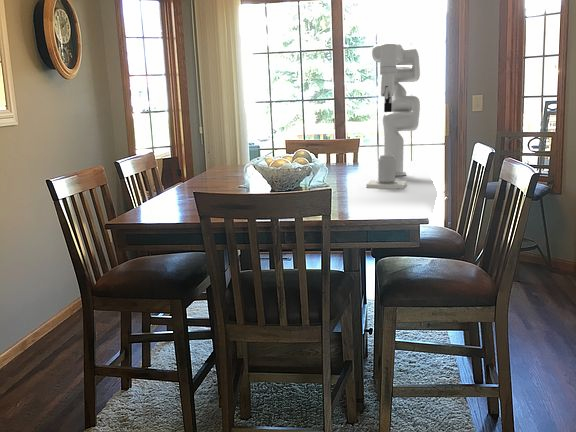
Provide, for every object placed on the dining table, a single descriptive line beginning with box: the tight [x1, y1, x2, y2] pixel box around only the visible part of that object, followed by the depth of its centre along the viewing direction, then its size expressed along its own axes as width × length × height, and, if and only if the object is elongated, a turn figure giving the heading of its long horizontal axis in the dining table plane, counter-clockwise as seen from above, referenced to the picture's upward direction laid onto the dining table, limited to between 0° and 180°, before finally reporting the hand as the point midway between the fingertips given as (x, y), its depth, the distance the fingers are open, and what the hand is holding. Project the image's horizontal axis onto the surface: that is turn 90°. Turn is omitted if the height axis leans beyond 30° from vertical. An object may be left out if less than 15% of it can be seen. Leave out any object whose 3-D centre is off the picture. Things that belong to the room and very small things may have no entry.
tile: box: [365, 180, 407, 189], centre depth 272 cm, size 13×16×2 cm
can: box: [377, 154, 396, 183], centre depth 270 cm, size 8×8×12 cm
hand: (387, 112), depth 281 cm, fingers closed
